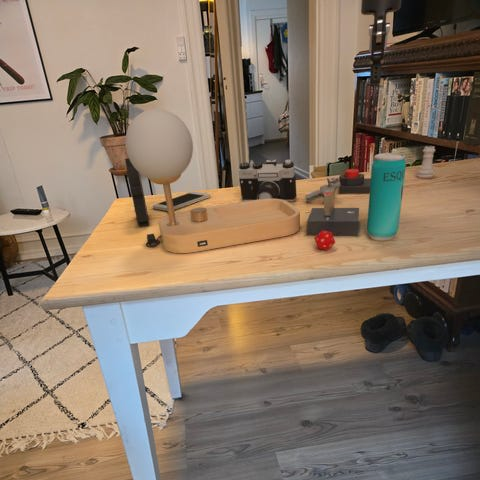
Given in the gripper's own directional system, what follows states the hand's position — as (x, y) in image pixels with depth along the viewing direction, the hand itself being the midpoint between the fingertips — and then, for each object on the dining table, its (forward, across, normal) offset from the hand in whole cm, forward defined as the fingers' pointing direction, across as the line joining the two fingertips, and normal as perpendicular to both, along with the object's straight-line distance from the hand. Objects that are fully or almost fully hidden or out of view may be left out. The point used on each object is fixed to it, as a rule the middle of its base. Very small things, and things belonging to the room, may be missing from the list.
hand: (374, 84), depth 88 cm
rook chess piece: (+25, -24, +16) cm, 38 cm away
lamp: (+25, +24, -30) cm, 46 cm away
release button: (+22, -12, -4) cm, 25 cm away
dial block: (+25, +20, -6) cm, 33 cm away
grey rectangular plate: (+22, +19, -7) cm, 30 cm away
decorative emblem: (+25, +16, -53) cm, 61 cm away
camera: (+25, +1, -25) cm, 36 cm away
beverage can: (+25, +25, +3) cm, 36 cm away
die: (+25, +32, -7) cm, 41 cm away
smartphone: (+25, 0, -49) cm, 55 cm away
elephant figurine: (+25, +1, -10) cm, 27 cm away
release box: (+25, -12, -2) cm, 28 cm away
